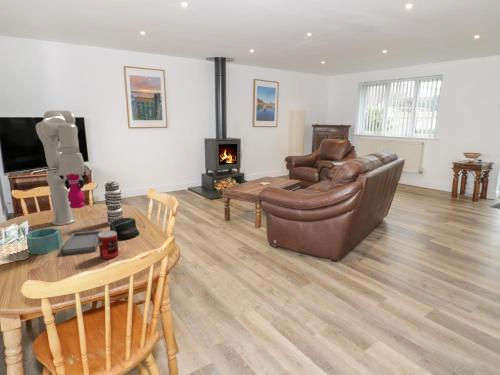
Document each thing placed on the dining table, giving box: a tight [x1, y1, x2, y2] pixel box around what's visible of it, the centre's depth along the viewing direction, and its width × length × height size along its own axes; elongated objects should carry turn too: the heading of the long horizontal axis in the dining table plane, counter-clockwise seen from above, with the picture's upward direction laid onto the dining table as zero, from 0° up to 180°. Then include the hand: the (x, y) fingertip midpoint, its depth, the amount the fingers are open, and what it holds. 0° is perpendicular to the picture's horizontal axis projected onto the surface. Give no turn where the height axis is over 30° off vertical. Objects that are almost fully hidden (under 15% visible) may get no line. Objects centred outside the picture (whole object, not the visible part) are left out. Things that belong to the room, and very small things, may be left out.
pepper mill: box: [66, 174, 86, 209], centre depth 147 cm, size 7×7×20 cm
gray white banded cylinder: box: [104, 181, 124, 225], centre depth 182 cm, size 9×9×25 cm
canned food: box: [98, 230, 120, 260], centre depth 140 cm, size 8×8×11 cm
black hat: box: [109, 217, 140, 242], centre depth 165 cm, size 20×20×9 cm
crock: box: [25, 227, 63, 256], centre depth 148 cm, size 14×14×8 cm
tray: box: [61, 229, 103, 256], centre depth 154 cm, size 22×14×3 cm, turn 18°
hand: (75, 187), depth 147 cm, fingers closed on pepper mill, 5 cm apart
